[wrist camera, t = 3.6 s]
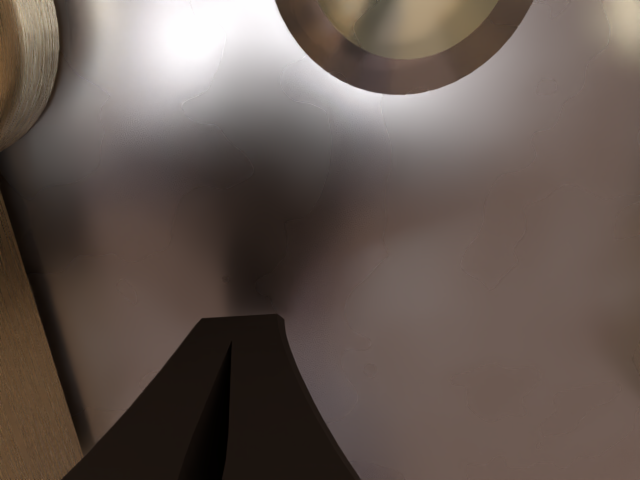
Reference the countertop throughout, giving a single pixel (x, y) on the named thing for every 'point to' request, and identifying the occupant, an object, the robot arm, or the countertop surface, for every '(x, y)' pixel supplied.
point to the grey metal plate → (353, 217)
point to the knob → (9, 273)
